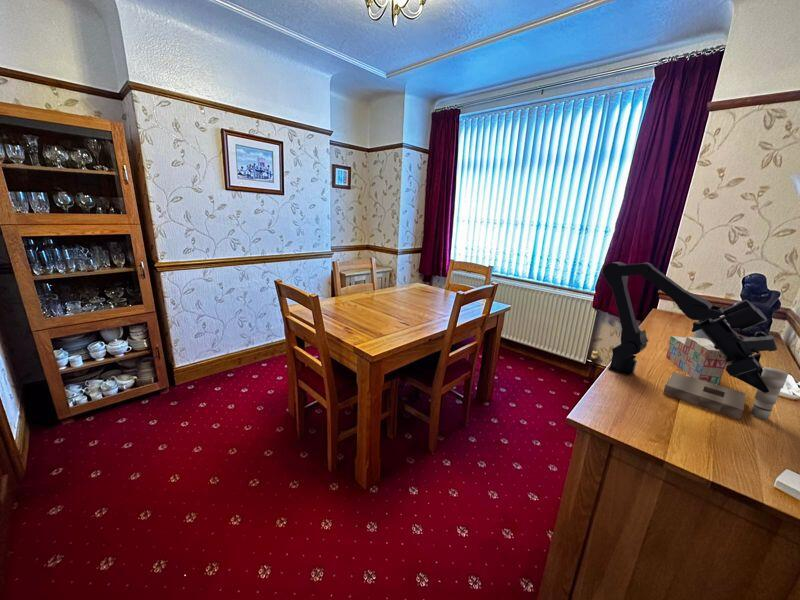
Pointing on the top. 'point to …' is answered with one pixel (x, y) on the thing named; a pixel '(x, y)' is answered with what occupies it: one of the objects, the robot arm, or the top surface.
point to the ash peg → (767, 400)
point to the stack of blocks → (697, 358)
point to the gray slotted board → (706, 394)
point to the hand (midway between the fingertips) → (767, 386)
